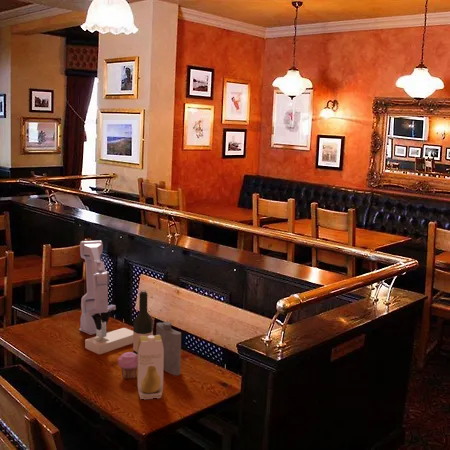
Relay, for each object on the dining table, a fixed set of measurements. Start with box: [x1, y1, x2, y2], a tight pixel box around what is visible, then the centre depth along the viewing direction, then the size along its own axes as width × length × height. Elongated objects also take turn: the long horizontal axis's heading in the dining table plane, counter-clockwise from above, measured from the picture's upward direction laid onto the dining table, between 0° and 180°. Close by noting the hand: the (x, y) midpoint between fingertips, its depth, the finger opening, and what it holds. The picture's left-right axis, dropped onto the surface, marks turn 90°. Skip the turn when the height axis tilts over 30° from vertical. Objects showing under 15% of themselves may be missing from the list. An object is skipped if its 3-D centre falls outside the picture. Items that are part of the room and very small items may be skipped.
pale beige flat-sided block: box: [84, 327, 133, 355], centre depth 272 cm, size 10×22×4 cm, turn 139°
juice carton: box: [136, 334, 164, 400], centre depth 223 cm, size 9×8×24 cm
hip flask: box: [155, 321, 182, 376], centre depth 248 cm, size 16×4×20 cm, turn 39°
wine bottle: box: [132, 290, 154, 354], centre depth 256 cm, size 8×8×30 cm
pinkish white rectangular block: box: [95, 320, 107, 338], centre depth 267 cm, size 4×2×7 cm, turn 49°
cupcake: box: [117, 351, 137, 380], centre depth 240 cm, size 9×9×10 cm
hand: (101, 328), depth 267 cm, fingers closed on pinkish white rectangular block, 2 cm apart
